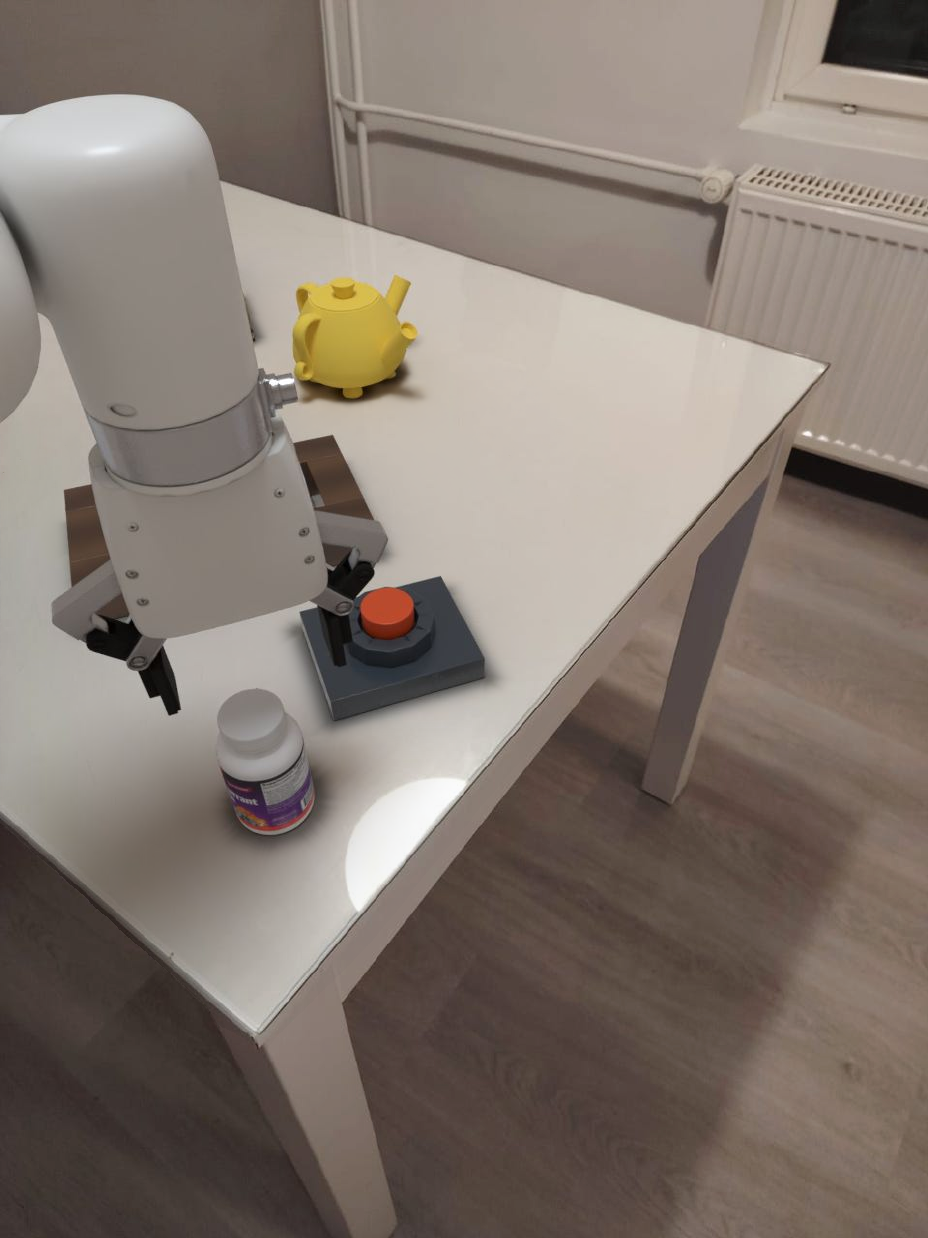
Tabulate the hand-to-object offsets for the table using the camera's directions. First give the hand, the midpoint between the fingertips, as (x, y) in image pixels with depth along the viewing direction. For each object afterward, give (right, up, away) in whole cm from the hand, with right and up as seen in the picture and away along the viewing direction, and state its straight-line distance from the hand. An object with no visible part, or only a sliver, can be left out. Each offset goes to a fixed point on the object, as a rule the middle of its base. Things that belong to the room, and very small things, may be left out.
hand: (255, 673), depth 51 cm
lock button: (+6, +3, +16) cm, 17 cm away
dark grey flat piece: (+6, 0, +18) cm, 19 cm away
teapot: (+1, +31, +49) cm, 58 cm away
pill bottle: (-1, -10, +8) cm, 13 cm away
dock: (-10, +10, +28) cm, 31 cm away
